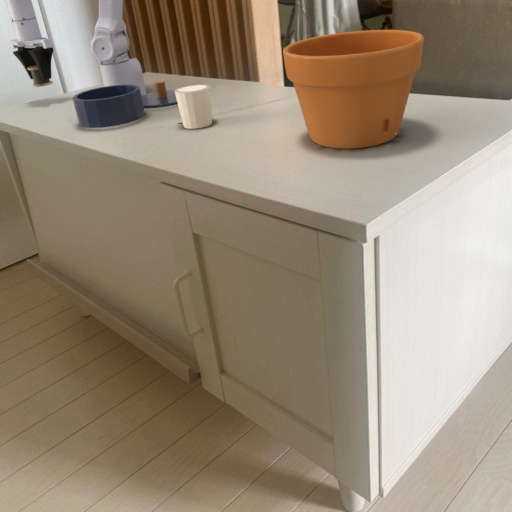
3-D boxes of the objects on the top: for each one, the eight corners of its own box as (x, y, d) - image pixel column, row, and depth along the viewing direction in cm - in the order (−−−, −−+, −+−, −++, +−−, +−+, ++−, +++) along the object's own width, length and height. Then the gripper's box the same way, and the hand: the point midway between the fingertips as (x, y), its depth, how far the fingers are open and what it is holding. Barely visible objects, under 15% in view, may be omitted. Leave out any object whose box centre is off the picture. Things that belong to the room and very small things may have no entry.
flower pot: (345, 167, 77) (342, 59, 70) (265, 138, 93) (256, 47, 86) (447, 132, 86) (455, 33, 79) (358, 111, 102) (358, 27, 95)
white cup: (220, 119, 107) (215, 83, 104) (206, 129, 101) (201, 91, 98) (189, 119, 109) (183, 84, 106) (174, 129, 104) (167, 92, 100)
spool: (50, 81, 137) (45, 63, 135) (54, 84, 134) (49, 65, 131) (31, 85, 136) (26, 66, 133) (34, 87, 132) (28, 68, 130)
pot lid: (180, 91, 134) (177, 72, 132) (204, 100, 123) (201, 79, 121) (123, 103, 129) (119, 83, 126) (143, 114, 117) (138, 92, 115)
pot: (133, 108, 123) (128, 81, 120) (153, 119, 112) (148, 90, 109) (74, 121, 118) (66, 93, 115) (89, 134, 107) (81, 104, 104)
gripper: (-8, 23, 129) (10, 81, 135) (26, 21, 121) (44, 83, 127) (18, 18, 133) (34, 75, 140) (53, 16, 125) (68, 76, 132)
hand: (41, 78), depth 134 cm, fingers closed on spool, 4 cm apart
